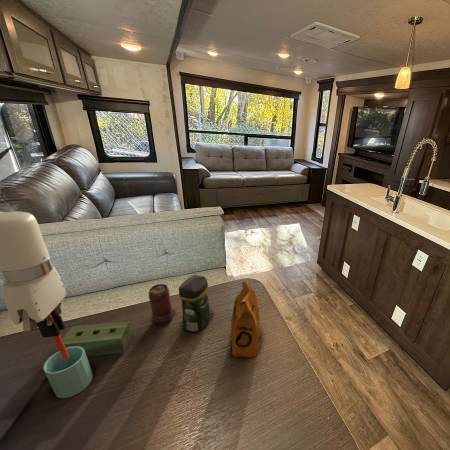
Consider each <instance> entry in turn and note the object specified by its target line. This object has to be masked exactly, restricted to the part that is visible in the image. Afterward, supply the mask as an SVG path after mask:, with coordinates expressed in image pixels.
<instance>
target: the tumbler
mask: <svg viewBox="0 0 450 450" xmlns="http://www.w3.org/2000/svg"><path fill="white" fill-rule="evenodd" d="M66 350H67V353H68V355H69V356H68V357H67V358H66V359H63V358H62V356H61V354H60V352H59V351H56V352H55V353H53V354H52V355H51V356H50V357H48V358H47V359H46V361H45V362H44V364H43V367H42V370H43V372H44V374H45V377H46V378H47V381H48V383H49V385H50V387H51V389H52V392H53V393H54V395H55V396H56V398H58V399H68V398H71V397H74V396H76V395H78V394H79V393H81V392H83V391H84V390H85V389H86V388H87V387H88V386H89V385H90V384H91V382H92V380H93V377H94V374H93V369H92V367H91V365H90V362H89V359H88V357H87V356H86V353H85V350H84V349H83V348H82V347H78V346H74V347H68V348H66Z"/></svg>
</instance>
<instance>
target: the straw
mask: <svg viewBox="0 0 450 450" xmlns="http://www.w3.org/2000/svg"><path fill="white" fill-rule="evenodd" d="M49 315H50V317H51V319H52V321H53V322H54V320H53V318H52V315H51V314H49ZM52 338H53V341H54V343H55V346H56V348H57V349H58V352H60V354H61V356H62V358H63V359H66V358H67V357H68V356H69V355H68V353H67V350H66V348H65V346H64V343H63V341H62V339H63V338H62V336H61V334H60V335H59V336H55V337H52Z"/></svg>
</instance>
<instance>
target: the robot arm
mask: <svg viewBox="0 0 450 450" xmlns="http://www.w3.org/2000/svg"><path fill="white" fill-rule="evenodd" d="M0 276H1V279H2V280H3V283H4V284H3V285H2V293H3V299H4V303H5V306H6V310H7V312H8V315H9V317H10V319H11V321H12V323H13V324H14V325H15V326H17V325H20V324H21V323H22V329H23V332H24V333H26V332H33V331H35V330H36V329H39V333H40V334H41V337H42V338H44V339H45V338H53V337H55V336H59V335H60V336H61V331H63V330H65V329H66V325H65V322H64V321H63V317H62V311H63V310H62V308H61V305H62V302H63V301H64V299H65V298H66V295H67V292H66V288H65V284H64V282H63V280H62V278H61V275H60V274H59V272H58V271H57V269H56V268H55V266H54V264H53V261H52V258H51V256H50V253H49V250H48V247H47V246H46V242H45V239H44V237H43V234H42V231H41V229H40V226H39V223H38V220H37V218H36V216H34V215H33V214H32V213H30V212H26V211H7V212H6V211H0ZM49 314H51V315H52V318H53V320H54V322H53V321H52V319H51V317H50V315H49Z"/></svg>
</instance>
